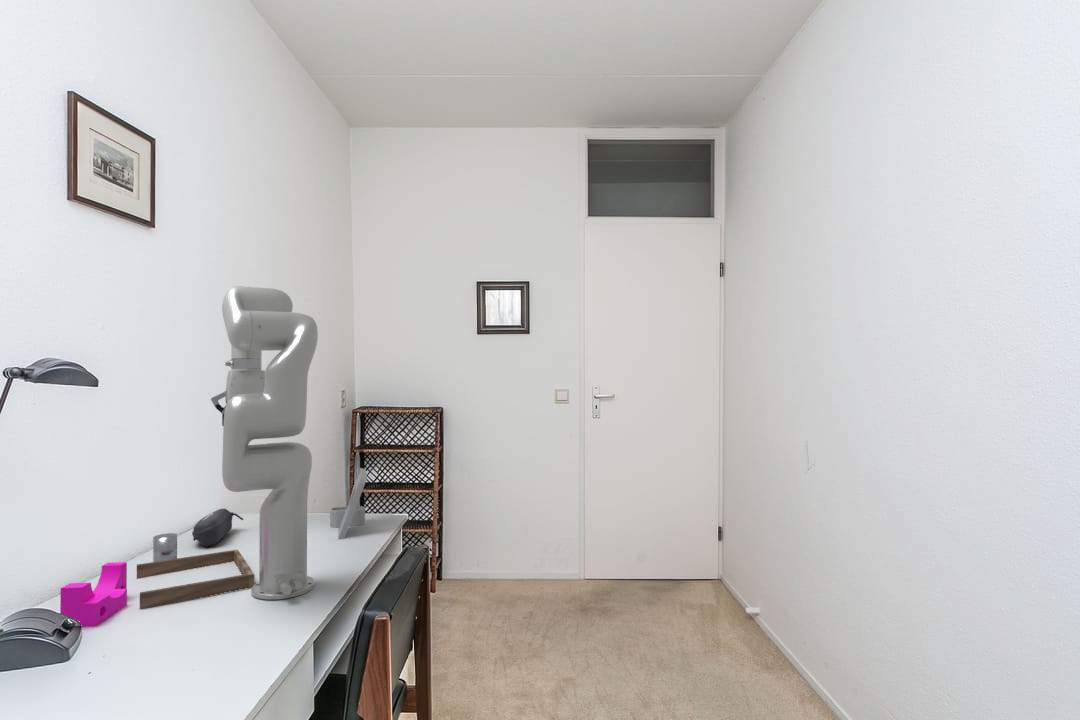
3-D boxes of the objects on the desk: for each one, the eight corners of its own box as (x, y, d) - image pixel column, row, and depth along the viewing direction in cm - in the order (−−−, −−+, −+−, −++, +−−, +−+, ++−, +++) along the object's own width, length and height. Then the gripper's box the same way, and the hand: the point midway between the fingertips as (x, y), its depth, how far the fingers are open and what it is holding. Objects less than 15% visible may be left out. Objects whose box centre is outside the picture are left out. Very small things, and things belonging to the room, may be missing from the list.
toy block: (96, 627, 117) (96, 587, 117) (60, 628, 117) (60, 588, 117) (139, 597, 132) (139, 561, 132) (107, 598, 132) (107, 562, 132)
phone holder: (329, 528, 186) (329, 468, 186) (365, 526, 189) (365, 466, 189) (328, 545, 170) (328, 478, 170) (367, 542, 173) (367, 476, 173)
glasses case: (205, 534, 181) (205, 506, 181) (245, 531, 183) (245, 505, 183) (184, 552, 163) (185, 522, 163) (229, 549, 166) (229, 520, 166)
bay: (254, 588, 137) (254, 574, 137) (139, 609, 125) (139, 593, 126) (237, 561, 155) (237, 549, 156) (136, 577, 144) (136, 564, 144)
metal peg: (177, 565, 152) (178, 536, 152) (153, 569, 149) (153, 540, 149) (176, 560, 156) (176, 532, 156) (152, 564, 154) (152, 535, 154)
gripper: (212, 365, 165) (212, 430, 165) (282, 365, 175) (282, 427, 175) (209, 365, 171) (209, 428, 171) (277, 365, 181) (277, 424, 181)
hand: (246, 427), depth 173 cm, fingers open, 9 cm apart
